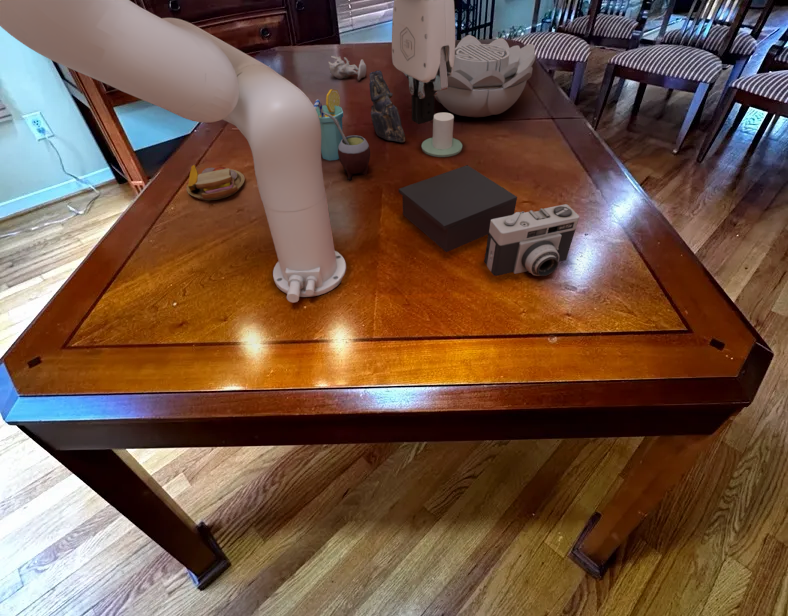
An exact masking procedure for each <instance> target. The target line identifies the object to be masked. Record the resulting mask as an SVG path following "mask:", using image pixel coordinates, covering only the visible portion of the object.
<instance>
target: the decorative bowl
mask: <svg viewBox="0 0 788 616" xmlns="http://www.w3.org/2000/svg"><path fill="white" fill-rule="evenodd" d="M535 50H536V49H535V45H534V43H529V44H526V45H524V46H522V47H520V45H517V44H516V45H513V46H511V47H510V45H509V43H508V42H507V41H506V39H504V38H503V37H499V38H496V39H494V40H493V41H491V42H489V43H488V44H487V43H481V41H479V40H478V39H477V37H475V36H473V35H471V34H467V35H466V36H464V37H463V38H462V39H460V41H459V42H458V43H457V45H456V46H455V58H454V67H453V72H452V74H451V76H449V77H447V79H448V88H447V89H445V90H442V91H437V95H435V100H436V101H437V102H438V103H439V104H441V105H442V106H443V108H445V109H446V110H447V111H449V113H451V114H453V115H457V116H461V117H467V118H468V117H469V118H484V117H490V116H493V115H500V114H503V113H505V112H506V111H508V110H509V109H510V108H511V107H512V106H514V104H515V103H516V102H517V101H518V99H519V98H520V97H521V95H522V93H523V92H524V90H525V87H526V85H527V81H528V80H529V79H530V78H532V76H533V75H532V74H533V64H534V63H535V61H536V56H537V54H535V52H536V51H535Z"/></svg>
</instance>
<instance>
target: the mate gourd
mask: <svg viewBox="0 0 788 616" xmlns="http://www.w3.org/2000/svg"><path fill="white" fill-rule="evenodd" d="M322 112H323V111H322ZM323 113H324V114H325V115H327V116H328V117H330V118H331V119H333V121H334V123H335V125H337V127H338V129H339V131H340V133H341V135H342V137H343V139H342V140H341V142H340V144H339V146H338V156H339V159H338V160H339V163H340V164H341V166H342V168H343V171H344V173H347V178H346V179H347V181H349V182H350V181H351V180H353V175H357V174H361V175H368V170H369V163H370V161H371V160H370V159H371V149H370V148H371V147H370V145H369V143H368V141H367V139H366V138H364V137H363V136H361V135H355V134H353V135H347V136H345V134H344V131H343V128H342V129H341V127H340V125H339V122H338V120H337V119H335V118H334V117H333V116H332V115H330V114H328V113H325V112H323Z"/></svg>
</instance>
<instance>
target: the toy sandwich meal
mask: <svg viewBox="0 0 788 616" xmlns="http://www.w3.org/2000/svg"><path fill="white" fill-rule="evenodd" d="M188 178H189V179H188V183H187V184H186V187H185V189H186V192H187V193H188V195H190V196H191V197H194V198H195V199H198V200H203V201H217V200H223V199H226V198H228V197H231V196H233V195H234V194H236V193H237V192H239V191H240V190H241V189H242V187H243V185H244V183H245V180H246V179H245V175H244V174H243V173H242V172H241V171H239V170H236V169H232V168H230V167H224V166H219V167H206V168H205V169H203V170H202V171H201V173H199V172H198V170H197V167H196V165H195V164H193V165H191V167H190V171H189V177H188Z"/></svg>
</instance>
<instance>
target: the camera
mask: <svg viewBox="0 0 788 616" xmlns="http://www.w3.org/2000/svg"><path fill="white" fill-rule="evenodd" d="M579 221H580V215H579V214H578V213H577V212H576V211H575V210H574V209H573V208H572V207H570V205H568V204H567V203H565V204H560V205H555V206H550V207H545V208H542V207H541V208H539V210H536V211H534V210H531V209H530V210H529V211H526V212H525V211H515V212H514V214H513V215H510V216H505V217H500V218H495V219H492V220H491V222H490V229H489V233H488V235H487V240H486V247H485V254H484V260H483V263H484V264H485V265H486V267H487V269H488V270H489V271H490V273H491V274H492V275H493V276H496V277H497V276H502V275H506V274H511V273H513V274H515V275H517V274H520V273H526V272H527V273H530V274H532V276H535V277H540V276H541V277H546V276H549V275H551V274H553V272H555V270H556V269H557V268H558V266H559V263H560V262H564V261H566V260H567V258H568V254H569V252H570V248H571V245H572V242H573V239H574V236H575V232H576V230H577V227H578V223H579Z"/></svg>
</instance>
